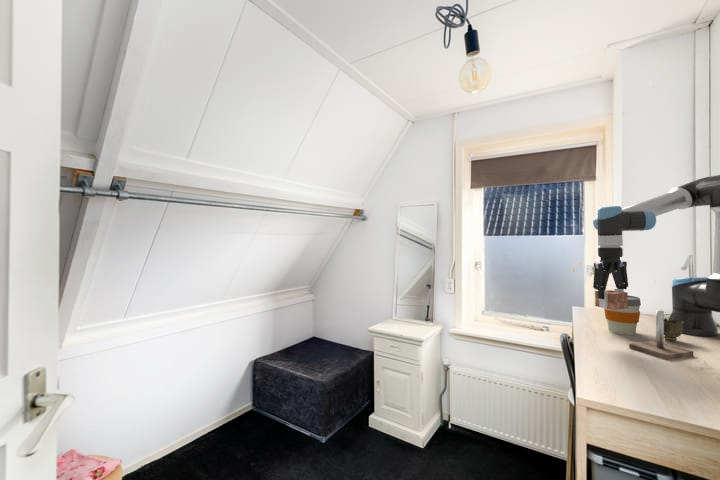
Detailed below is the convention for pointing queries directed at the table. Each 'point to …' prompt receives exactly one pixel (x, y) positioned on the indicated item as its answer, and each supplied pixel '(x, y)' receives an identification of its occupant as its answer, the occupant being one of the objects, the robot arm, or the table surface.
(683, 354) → the brown square board
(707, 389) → the table surface
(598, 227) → the robot arm
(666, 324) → the cup
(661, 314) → the silver metal rod
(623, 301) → the brown open box
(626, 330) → the reusable coffee cup
